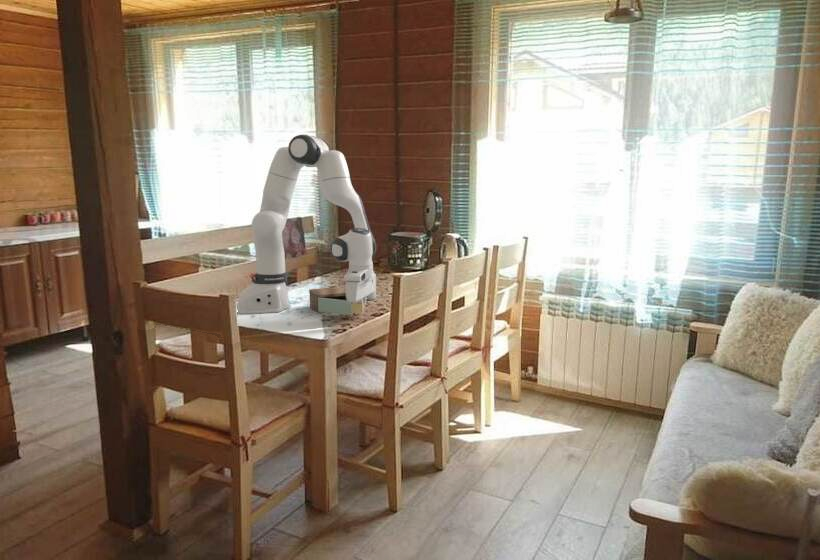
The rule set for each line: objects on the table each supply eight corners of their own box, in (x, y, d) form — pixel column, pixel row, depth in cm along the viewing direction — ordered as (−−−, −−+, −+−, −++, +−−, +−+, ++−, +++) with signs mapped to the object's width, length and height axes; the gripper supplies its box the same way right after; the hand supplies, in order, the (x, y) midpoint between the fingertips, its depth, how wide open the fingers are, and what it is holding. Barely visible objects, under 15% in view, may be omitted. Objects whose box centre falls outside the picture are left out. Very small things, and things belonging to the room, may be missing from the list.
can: (373, 301, 261) (373, 272, 259) (356, 300, 263) (355, 272, 261) (378, 297, 269) (377, 269, 266) (361, 296, 270) (360, 269, 268)
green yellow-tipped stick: (318, 311, 239) (317, 298, 238) (319, 311, 240) (319, 297, 239) (362, 316, 232) (362, 302, 231) (363, 315, 233) (363, 302, 232)
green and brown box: (317, 313, 241) (317, 295, 239) (309, 306, 252) (309, 289, 251) (352, 309, 246) (352, 292, 245) (343, 303, 257) (342, 286, 256)
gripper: (363, 267, 242) (364, 302, 245) (342, 276, 223) (343, 314, 226) (379, 268, 240) (379, 303, 243) (358, 277, 221) (359, 315, 224)
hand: (361, 308), depth 234 cm, fingers closed
